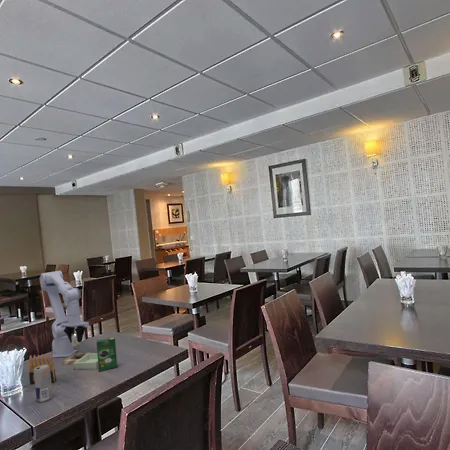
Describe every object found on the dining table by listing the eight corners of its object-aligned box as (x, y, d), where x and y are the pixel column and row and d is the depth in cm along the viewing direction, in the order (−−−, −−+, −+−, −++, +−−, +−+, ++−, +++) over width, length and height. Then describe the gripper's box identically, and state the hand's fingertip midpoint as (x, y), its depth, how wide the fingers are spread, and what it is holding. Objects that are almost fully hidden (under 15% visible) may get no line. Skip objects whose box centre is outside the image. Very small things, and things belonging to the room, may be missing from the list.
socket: (62, 364, 159) (62, 361, 159) (75, 356, 169) (74, 353, 169) (81, 363, 157) (81, 360, 157) (93, 355, 167) (93, 352, 167)
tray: (74, 370, 151) (73, 363, 151) (88, 359, 162) (87, 353, 162) (96, 369, 149) (95, 362, 149) (109, 359, 160) (108, 352, 160)
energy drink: (40, 396, 128) (37, 365, 128) (55, 394, 129) (51, 363, 129) (34, 403, 123) (30, 371, 123) (49, 401, 123) (45, 369, 123)
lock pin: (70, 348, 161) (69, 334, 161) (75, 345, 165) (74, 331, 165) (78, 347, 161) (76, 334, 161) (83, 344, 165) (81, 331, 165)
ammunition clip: (56, 381, 141) (53, 352, 141) (53, 383, 139) (50, 354, 139) (32, 382, 142) (29, 354, 142) (29, 384, 140) (26, 356, 140)
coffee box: (117, 365, 151) (114, 336, 151) (118, 367, 148) (115, 337, 148) (98, 369, 148) (95, 340, 148) (98, 372, 146) (95, 341, 146)
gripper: (91, 311, 165) (94, 338, 165) (66, 312, 169) (69, 339, 169) (82, 315, 158) (85, 343, 158) (56, 316, 162) (59, 344, 162)
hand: (76, 341), depth 163 cm, fingers closed on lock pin, 4 cm apart
